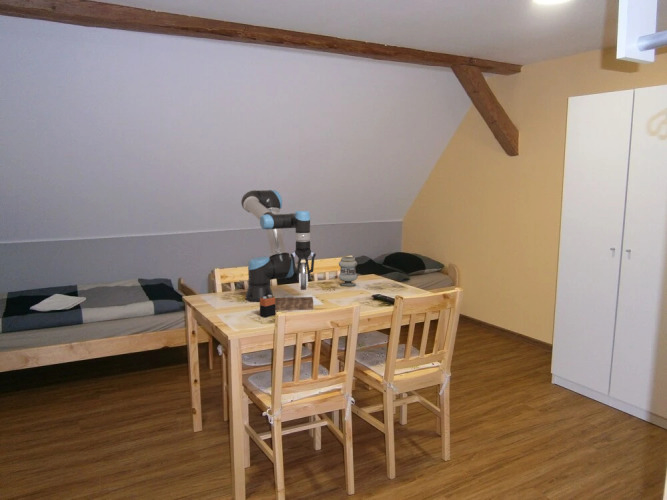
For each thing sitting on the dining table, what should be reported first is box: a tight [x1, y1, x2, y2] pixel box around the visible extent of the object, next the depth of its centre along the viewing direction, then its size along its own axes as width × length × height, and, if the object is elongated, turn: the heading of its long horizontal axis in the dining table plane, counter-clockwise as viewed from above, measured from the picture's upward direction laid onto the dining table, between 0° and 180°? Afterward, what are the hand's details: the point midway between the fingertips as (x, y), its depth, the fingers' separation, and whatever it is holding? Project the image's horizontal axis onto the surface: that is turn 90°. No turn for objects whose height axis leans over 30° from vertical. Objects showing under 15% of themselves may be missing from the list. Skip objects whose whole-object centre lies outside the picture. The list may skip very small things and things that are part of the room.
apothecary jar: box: [338, 256, 358, 288], centre depth 314 cm, size 12×12×18 cm
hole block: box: [275, 296, 314, 311], centre depth 259 cm, size 24×9×4 cm, turn 95°
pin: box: [299, 261, 307, 291], centre depth 257 cm, size 3×3×14 cm
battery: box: [259, 295, 276, 319], centre depth 244 cm, size 4×7×10 cm, turn 140°
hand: (303, 285), depth 258 cm, fingers closed on pin, 3 cm apart
